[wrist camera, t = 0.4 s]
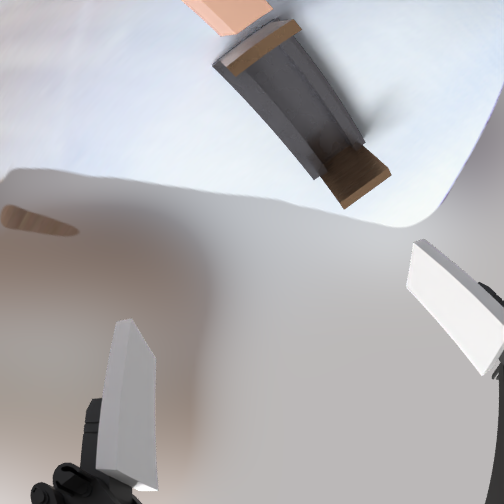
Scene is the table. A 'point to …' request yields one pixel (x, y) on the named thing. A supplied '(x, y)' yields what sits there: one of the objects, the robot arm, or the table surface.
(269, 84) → the door track
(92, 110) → the table surface
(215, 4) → the door panel
